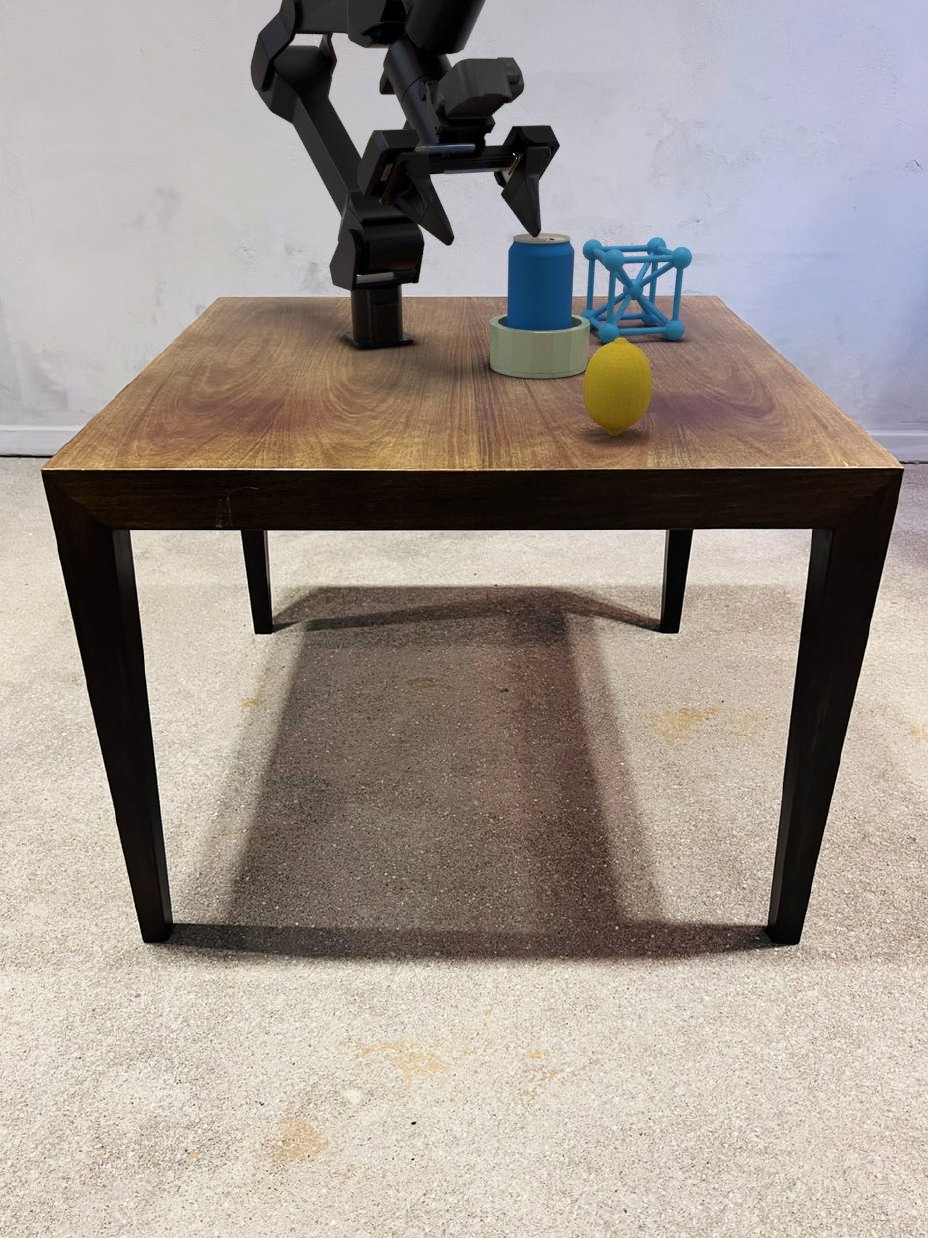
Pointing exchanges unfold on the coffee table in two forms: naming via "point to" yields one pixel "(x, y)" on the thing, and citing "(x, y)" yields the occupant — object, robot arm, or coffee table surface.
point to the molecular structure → (635, 288)
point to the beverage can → (540, 282)
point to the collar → (539, 349)
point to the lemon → (617, 386)
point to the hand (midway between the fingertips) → (495, 238)
